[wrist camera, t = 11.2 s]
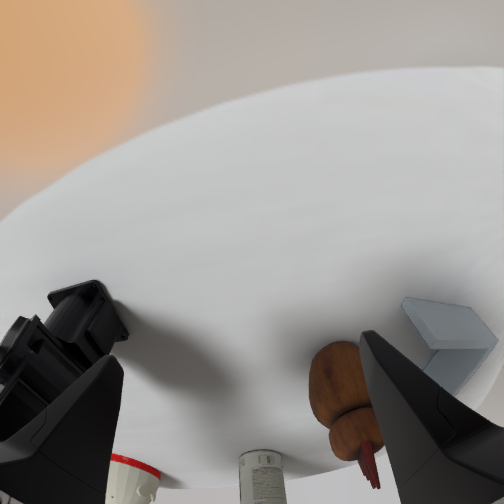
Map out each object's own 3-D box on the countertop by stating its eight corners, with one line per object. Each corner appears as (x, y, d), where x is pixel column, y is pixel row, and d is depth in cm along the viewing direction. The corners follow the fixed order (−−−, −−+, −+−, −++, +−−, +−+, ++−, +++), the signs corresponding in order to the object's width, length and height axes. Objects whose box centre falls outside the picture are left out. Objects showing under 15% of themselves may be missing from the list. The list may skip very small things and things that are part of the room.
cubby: (337, 402, 31) (348, 442, 25) (405, 297, 24) (436, 339, 19) (404, 398, 32) (418, 432, 27) (470, 307, 26) (498, 340, 20)
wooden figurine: (316, 329, 25) (362, 487, 12) (371, 332, 26) (432, 467, 12) (296, 377, 28) (320, 512, 15) (345, 377, 29) (383, 499, 15)
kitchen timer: (137, 455, 38) (125, 527, 24) (172, 480, 44) (167, 540, 31) (81, 448, 39) (65, 509, 26) (119, 475, 45) (110, 528, 32)
